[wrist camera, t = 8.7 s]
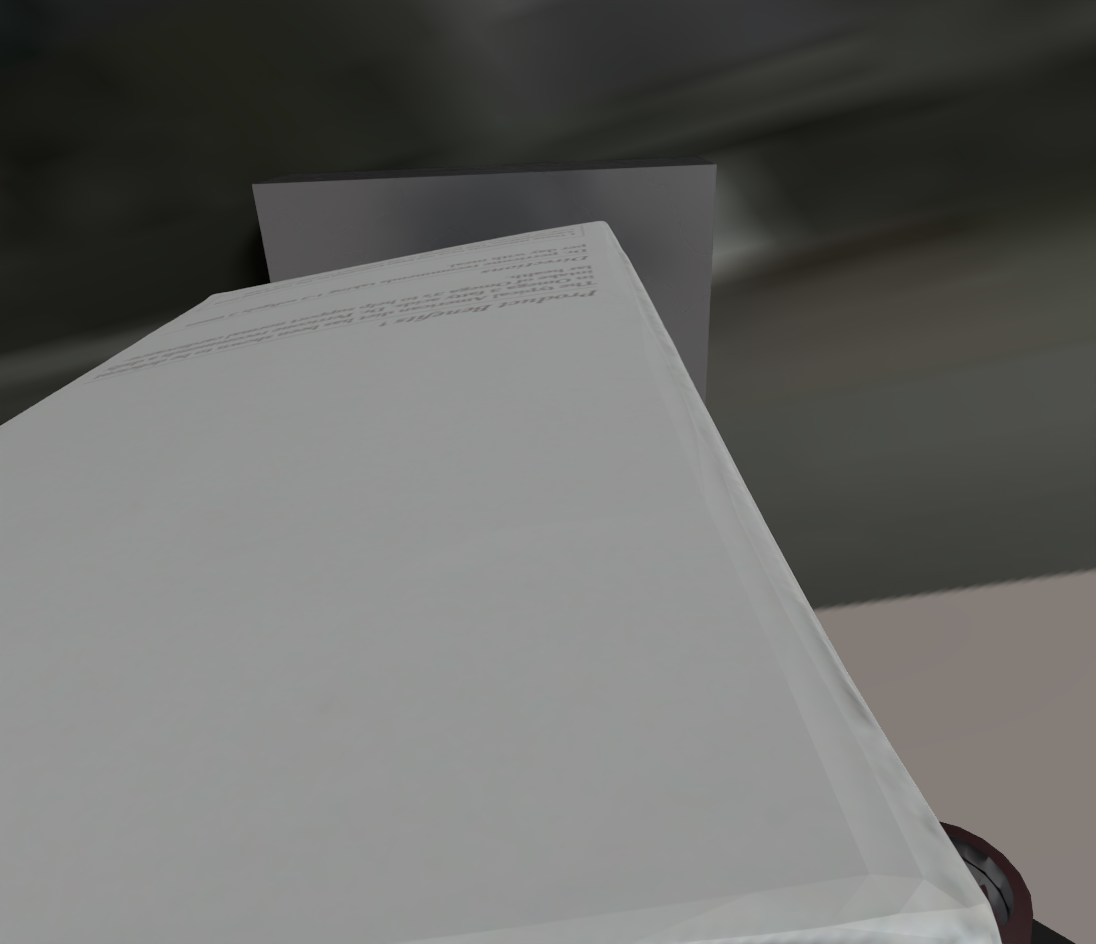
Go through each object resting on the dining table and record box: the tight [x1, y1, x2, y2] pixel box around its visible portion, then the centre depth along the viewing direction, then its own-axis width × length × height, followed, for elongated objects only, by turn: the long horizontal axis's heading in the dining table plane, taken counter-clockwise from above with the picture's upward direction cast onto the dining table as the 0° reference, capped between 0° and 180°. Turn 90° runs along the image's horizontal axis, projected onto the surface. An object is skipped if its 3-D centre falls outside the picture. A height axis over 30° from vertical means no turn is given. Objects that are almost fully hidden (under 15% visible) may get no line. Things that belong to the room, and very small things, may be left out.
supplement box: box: [0, 221, 1002, 944], centre depth 9 cm, size 7×7×13 cm
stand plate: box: [252, 157, 717, 405], centre depth 23 cm, size 12×12×5 cm
